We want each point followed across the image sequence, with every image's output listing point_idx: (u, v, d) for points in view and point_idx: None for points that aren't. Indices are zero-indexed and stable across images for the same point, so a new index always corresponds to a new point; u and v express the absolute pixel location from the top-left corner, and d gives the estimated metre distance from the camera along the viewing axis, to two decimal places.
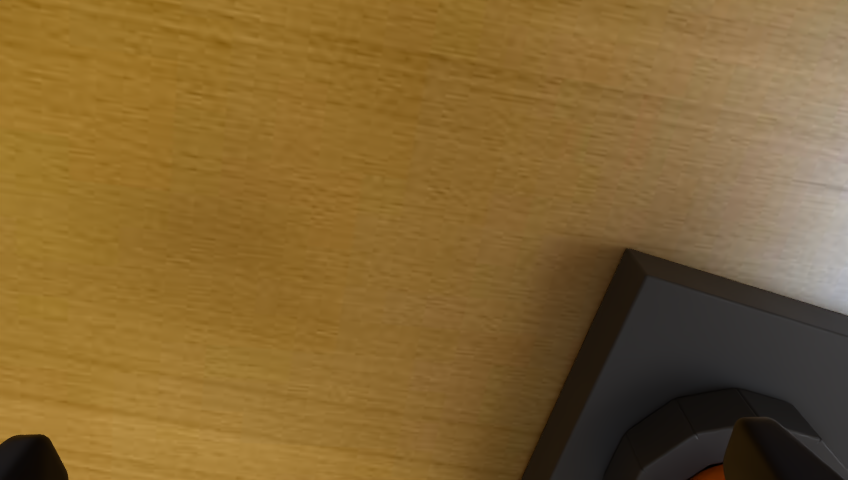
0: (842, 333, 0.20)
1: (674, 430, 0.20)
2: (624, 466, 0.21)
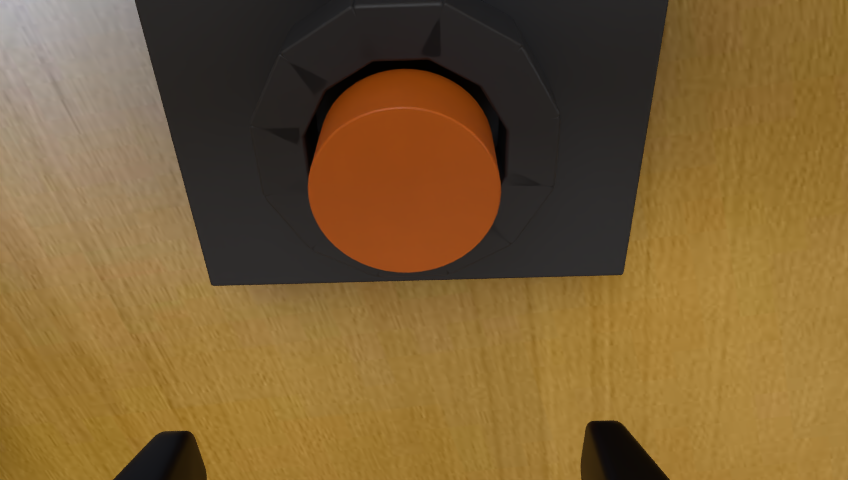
0: (156, 79, 0.17)
1: None
2: None
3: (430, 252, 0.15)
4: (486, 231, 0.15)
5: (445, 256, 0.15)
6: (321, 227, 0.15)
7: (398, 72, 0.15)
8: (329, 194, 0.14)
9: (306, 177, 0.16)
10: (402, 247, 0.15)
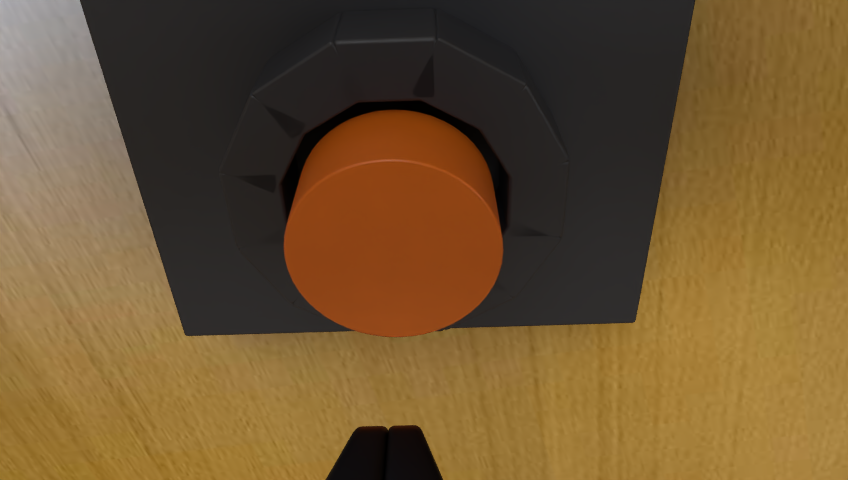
0: (117, 116, 0.15)
1: None
2: None
3: (423, 315, 0.13)
4: (487, 292, 0.13)
5: (440, 319, 0.13)
6: (300, 289, 0.13)
7: (386, 114, 0.13)
8: (308, 254, 0.12)
9: (284, 228, 0.14)
10: (392, 310, 0.13)
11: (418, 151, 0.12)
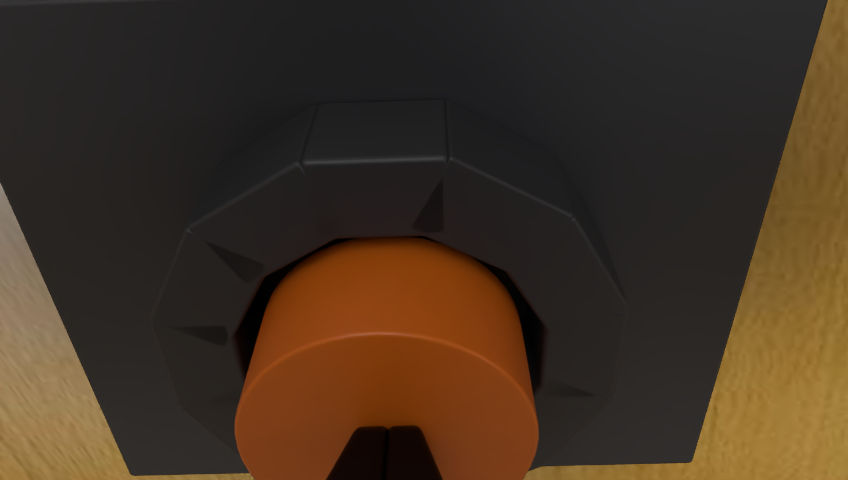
0: (25, 230, 0.11)
1: None
2: None
3: None
4: None
5: None
6: None
7: (376, 244, 0.09)
8: (269, 443, 0.09)
9: (242, 387, 0.11)
10: None
11: (421, 314, 0.08)
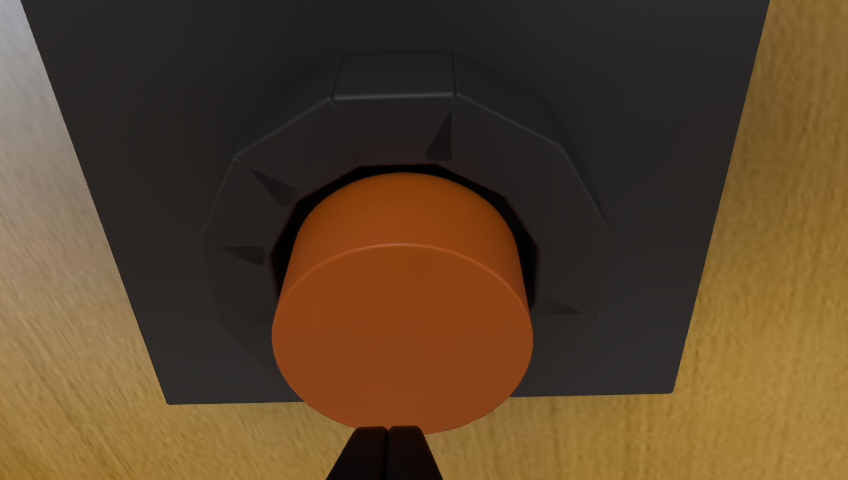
0: (84, 170, 0.13)
1: None
2: None
3: (437, 413, 0.11)
4: (512, 388, 0.11)
5: (457, 417, 0.11)
6: (291, 385, 0.11)
7: (393, 178, 0.11)
8: (301, 347, 0.10)
9: (275, 304, 0.12)
10: (400, 408, 0.11)
11: (433, 231, 0.10)
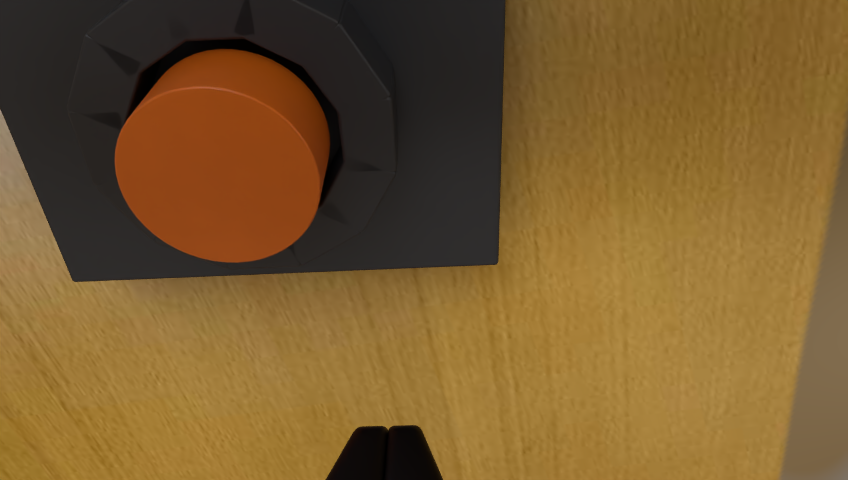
0: None
1: None
2: None
3: (256, 240, 0.14)
4: (313, 217, 0.14)
5: (273, 244, 0.14)
6: (137, 216, 0.14)
7: (214, 52, 0.14)
8: (139, 180, 0.14)
9: None
10: (226, 236, 0.14)
11: (230, 80, 0.13)
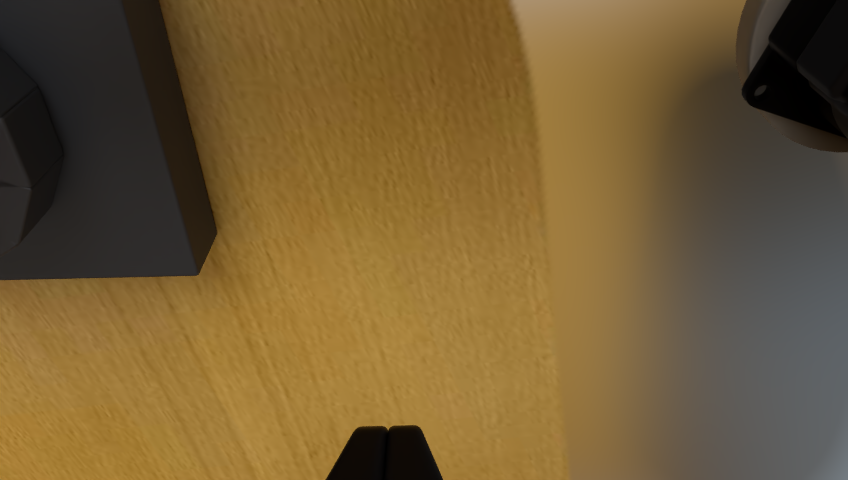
0: None
1: None
2: None
3: None
4: None
5: None
6: None
7: None
8: None
9: None
10: None
11: None
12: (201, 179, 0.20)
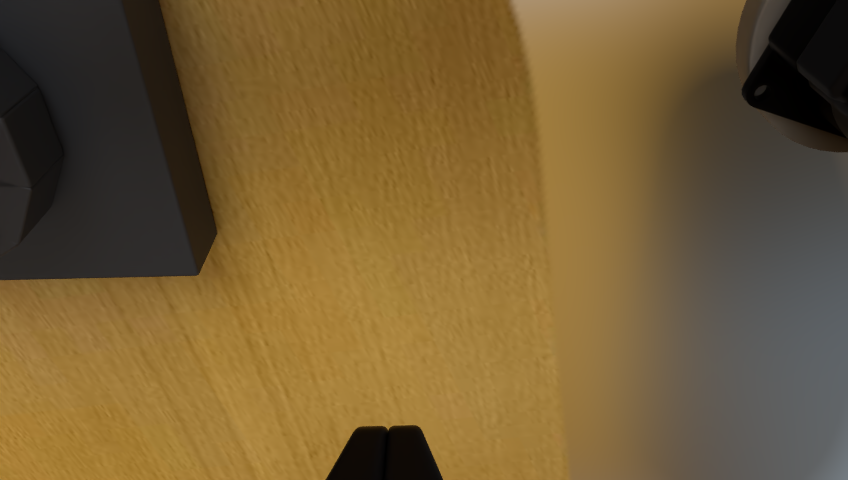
0: None
1: None
2: None
3: None
4: None
5: None
6: None
7: None
8: None
9: None
10: None
11: None
12: (201, 179, 0.20)
